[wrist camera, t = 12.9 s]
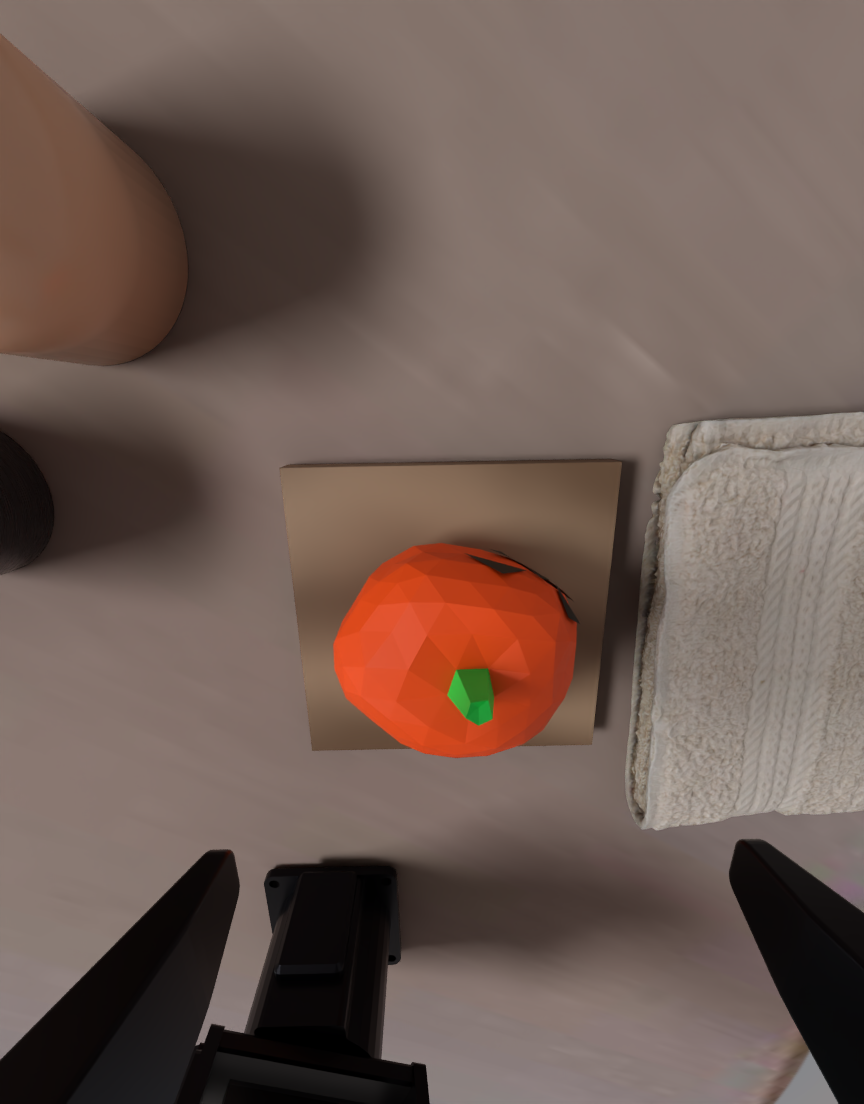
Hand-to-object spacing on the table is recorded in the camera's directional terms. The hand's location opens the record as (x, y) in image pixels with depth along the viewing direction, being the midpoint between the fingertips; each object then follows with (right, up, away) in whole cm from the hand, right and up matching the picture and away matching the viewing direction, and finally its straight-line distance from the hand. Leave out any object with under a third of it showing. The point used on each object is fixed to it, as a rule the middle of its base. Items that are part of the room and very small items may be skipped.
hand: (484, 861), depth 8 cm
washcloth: (+13, +2, +12) cm, 18 cm away
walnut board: (0, +3, +11) cm, 11 cm away
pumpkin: (0, +3, +10) cm, 10 cm away
